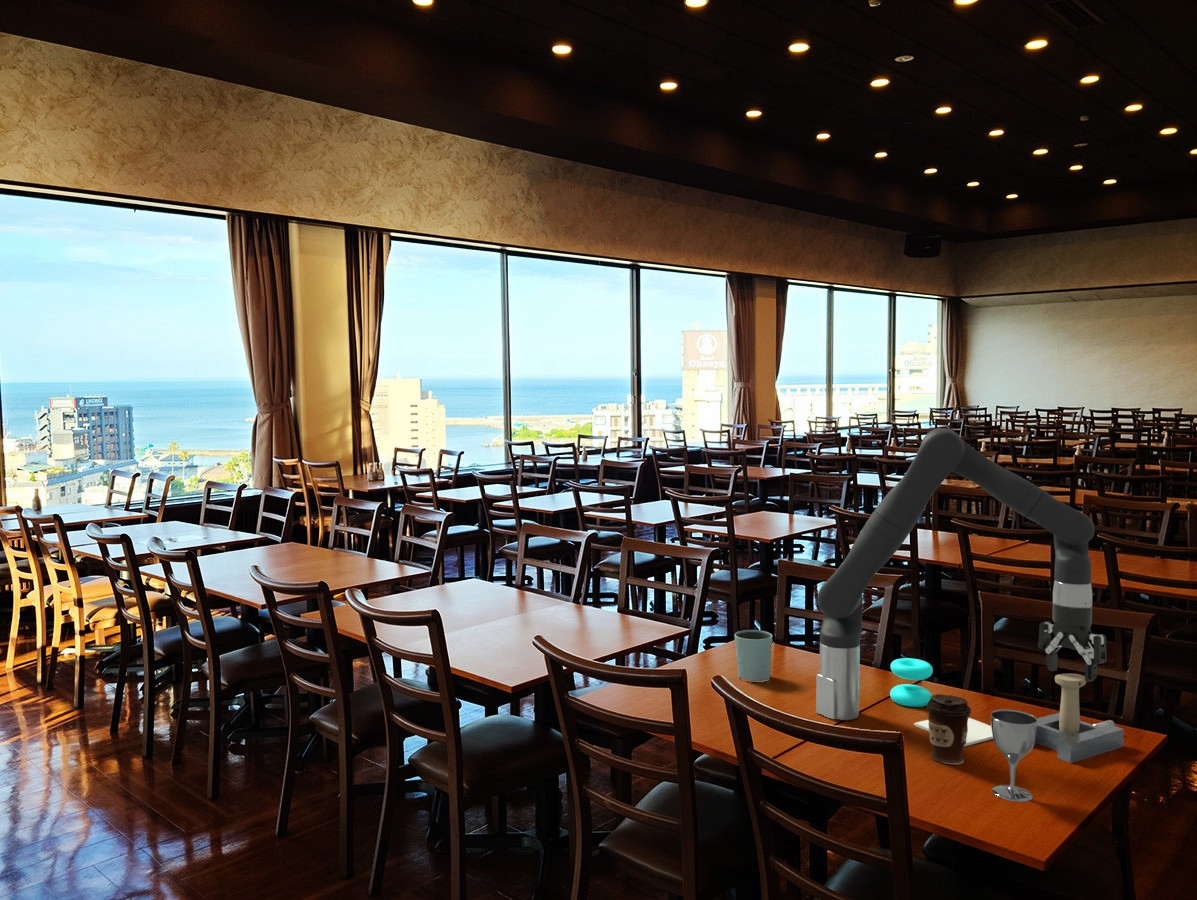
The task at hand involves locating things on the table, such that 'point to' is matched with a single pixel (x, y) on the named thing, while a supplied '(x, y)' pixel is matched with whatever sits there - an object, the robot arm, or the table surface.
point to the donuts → (909, 692)
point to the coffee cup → (948, 727)
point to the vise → (1078, 738)
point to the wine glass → (1013, 747)
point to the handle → (1070, 702)
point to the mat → (974, 734)
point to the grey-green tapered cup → (753, 654)
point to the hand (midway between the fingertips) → (1070, 675)
